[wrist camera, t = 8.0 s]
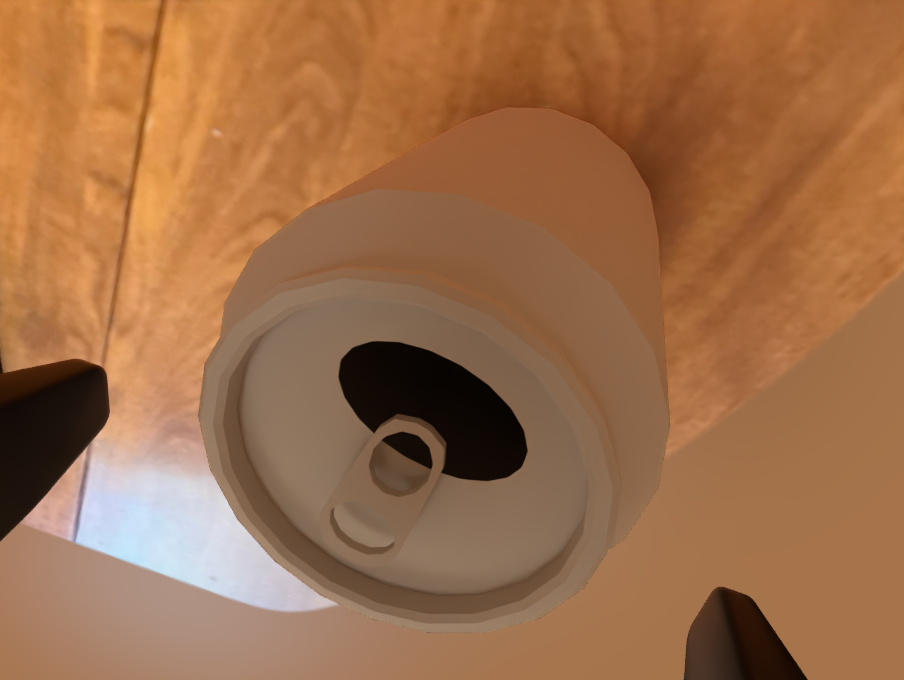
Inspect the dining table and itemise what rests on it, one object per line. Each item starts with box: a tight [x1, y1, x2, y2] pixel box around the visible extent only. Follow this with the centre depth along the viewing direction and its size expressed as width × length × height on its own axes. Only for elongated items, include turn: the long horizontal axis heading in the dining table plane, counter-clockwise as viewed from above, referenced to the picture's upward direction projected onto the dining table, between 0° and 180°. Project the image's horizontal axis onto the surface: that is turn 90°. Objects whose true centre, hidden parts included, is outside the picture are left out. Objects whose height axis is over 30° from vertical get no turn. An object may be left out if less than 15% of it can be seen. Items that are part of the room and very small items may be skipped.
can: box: [198, 107, 670, 633], centre depth 14 cm, size 8×8×12 cm
